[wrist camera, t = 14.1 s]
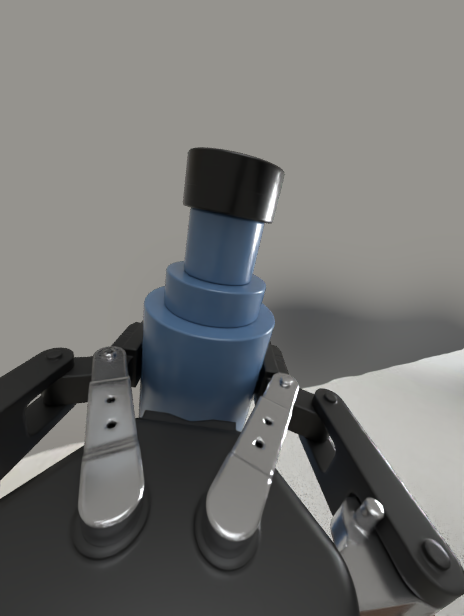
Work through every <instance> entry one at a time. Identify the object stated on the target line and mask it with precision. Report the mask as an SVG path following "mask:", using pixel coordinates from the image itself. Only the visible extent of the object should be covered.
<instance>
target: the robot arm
mask: <svg viewBox="0 0 464 616" xmlns="http://www.w3.org/2000/svg"><path fill="white" fill-rule="evenodd" d="M142 336H143V321H142V322H141V323H138V322H135V323H133V324H131V325H129V326H128V327H127V329H126V330H125V331H124V332H123V333H122V335H120V336H119V338H118V339H117V340H116V341H115V342H114V344H113V345H112V346H111V347H105V348H101V349H99V350H97V351H96V352H95V353H94V355H93V356H91V357H74V354H73V351H71V350H70V349H67V348H53V349H49V350H46V351H43V352H41V353H39V354H38V355H36V356H35V357H33V358H31V359H30V360H28V361H26V362H25V363H23V364H22V365H20V366H18V367H17V368H15V369H13V370H12V371H10V372H9V373H7V374H5V375H4V376H2V377H0V480H1V479H2V478H3V477H4V476H5V475H6V474H7V473H8V472H9V471H10V470H11V469H12V468H13V467H14V466H15V465H16V464H17V463H18V462H19V461H20V460H21V459H22V458H23V457H24V456H25V455H26V454H27V453H28V452H29V451H30V450H31V449H32V448H33V447H34V446H35V445H36V444H37V443H38V442H39V441H40V440H41V439H42V438H43V437H44V436H45V435H46V434H47V433H48V432H49V431H50V430H51V429H52V428H53V427H54V426H55V425H56V424H57V423H58V422H59V421H60V420H61V419H62V418H63V417H64V416H65V415H66V414H67V413H68V412H69V411H70V410H71V409H72V408H73V407H74V406H75V405H76V403H85V402H88V406H87V418H86V431H85V443H84V446H82V447H81V448H79V449H77V450H76V451H74V452H73V453H71V454H70V455H68V456H67V457H65V458H63V459H62V460H60V461H59V462H57V463H56V464H54V465H53V466H51V467H49V468H48V469H46V470H45V471H43V472H42V473H40V474H38V475H37V476H35V477H34V478H32V479H31V480H29V481H28V482H26V483H24V484H23V485H21V486H20V487H18V488H17V489H15V490H13V491H12V492H10V493H9V494H7V495H6V496H4V497H2V498H1V499H0V616H433V615H434V614H436V613H437V612H439V611H440V610H442V609H443V608H444V607H446V606H447V605H449V604H450V603H451V602H453V601H454V600H456V599H457V598H459V597H460V596H461V595H463V594H464V570H463V568H462V566H461V564H460V562H459V560H458V559H457V557H456V556H455V554H454V553H453V551H452V550H451V549H450V547H449V546H448V545H447V543H446V542H445V540H444V539H443V538H442V536H441V535H440V534H439V532H438V531H437V529H436V528H435V527H434V525H433V524H432V523H431V521H430V520H429V518H428V517H427V516H426V514H425V513H424V512H423V510H422V509H421V507H420V506H419V505H418V503H417V502H416V501H415V499H414V498H413V496H412V495H411V494H410V492H409V491H408V490H407V488H406V487H405V485H404V484H403V483H402V481H401V480H400V478H399V477H398V476H397V474H396V473H395V472H394V470H393V469H392V467H391V466H390V465H389V463H388V462H387V461H386V459H385V458H384V456H383V455H382V454H381V452H380V451H379V450H378V448H377V447H376V445H375V444H374V443H373V441H372V440H371V439H370V437H369V436H368V434H367V433H366V432H365V430H364V429H363V428H362V426H361V425H360V423H359V422H358V421H357V419H356V418H355V417H354V415H353V414H352V412H351V411H350V410H349V408H348V407H347V406H346V404H345V403H344V401H343V400H342V399H341V398H340V397H339V396H338V395H337V394H336V393H334V392H332V391H330V390H327V389H318V390H316V392H315V394H312V393H310V392H307V391H305V390H302V389H300V388H299V384H298V382H297V381H296V380H295V379H294V378H293V377H292V376H290V375H289V373H288V370H287V367H286V365H285V362H284V359H283V356H282V353H281V351H280V350H279V349H278V347H277V346H274V345H271V342H269V345H268V348H267V351H266V355H265V358H264V361H263V365H262V368H261V371H260V375H259V378H258V381H257V384H256V388H255V391H254V402H255V407H254V409H253V411H252V413H251V415H250V416H249V418H248V420H247V422H246V424H245V426H244V428H243V430H242V431H241V432H240V431H237V430H236V422H230V421H223V420H215V419H212V420H201V421H188V420H185V419H183V418H180V417H177V416H175V415H172V414H170V413H165V412H158V411H151V410H145V412H144V414H143V416H142V417H140V418H135V414H134V405H133V397H132V389H131V387H136V385H137V384H138V382H139V380H140V378H141V358H142ZM40 393H41V396H40V397H39V398H38V399H36V400H35V401H34V402H33V403H31V404H30V405H29V406H28V404H29V403H30V402H31V401H32V400H33V399H34V398H35V397H37V395H39V394H40ZM27 406H28V407H27ZM287 429H288V430H290V431H292V432H294V433H297V434H298V435H299V438H300V440H301V443H302V445H303V447H304V450H305V452H306V455H307V457H308V459H309V462H310V464H311V466H312V469H313V471H314V473H315V476H316V478H317V480H318V483H319V485H320V487H321V490H322V492H323V494H324V497H325V499H326V501H327V504H328V506H329V508H330V511H331V513H332V515H333V518H332V520H331V524H330V529H331V534H332V538H333V541H334V543H333V542H332V540H331V539H330V538H329V536H328V535H327V534H326V533H325V531H324V530H323V529H322V527H321V526H320V525H319V524H318V522H317V521H316V520H315V518H314V517H313V516H312V515H311V513H310V512H309V511H308V509H307V508H306V507H305V506H304V504H303V503H302V502H301V500H300V499H299V498H298V497H297V495H296V494H295V493H294V491H293V490H292V489H291V487H290V486H289V485H288V484H287V482H286V481H285V480H284V478H283V477H282V476H281V475H280V473H279V472H278V471H277V469H276V468H275V467H276V464H277V461H278V457H279V454H280V451H281V448H282V444H283V441H284V438H285V435H286V431H287ZM329 436H330V437H331V439H332V440H333V442H334V444H333V443H332V441H331V439H330V437H329ZM334 445H335V446H334Z"/></svg>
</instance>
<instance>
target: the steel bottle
mask: <svg viewBox="0 0 464 616" xmlns="http://www.w3.org/2000/svg"><path fill="white" fill-rule="evenodd" d="M284 175H285V174H284V171H283V170H282V169H281V168H280V167H278V166H276V165H274V164H272V163H270V162H268V161H265V160H263V159H260V158H257V157H254V156H250V155H246V154H243V153H238V152H234V151H229V150H223V149H216V148H204V147H200V148H193V149H190V150H189V152H188V157H187V168H186V177H185V187H184V197H183V198H184V199H183V204H184V205H185V206H188V207H191V209H190V216H189V225H188V235H187V243H186V252H185V261H180V262H175V263H172V264H170V265H169V266H168V267H167V269H166V281H165V286H163V287H160V288H157V289H155V290H153V291H152V292H150V293H149V294H148V295H147V297H146V298H145V301H144V314H143V315H144V316H143V336H142V358H141V382H140V402H139V418H140V417H142V416H143V414H144V412H145V410H151V411H158V412H165V413H170V414H172V415H175V416H177V417H180V418H183V419H185V420H188V421H201V420H212V419H215V420H223V421H230V422H236V430H237V431H240V432H241V431H242V430H243V427H244V424H245V421H246V418H247V414H248V411H249V408H250V404H251V401H252V397H253V394H254V391H255V388H256V384H257V381H258V378H259V375H260V371H261V368H262V365H263V361H264V358H265V355H266V351H267V348H268V345H269V342H270V338H271V335H272V332H273V328H274V325H275V320H274V316H273V314H272V312H271V311H270V310H269V309H268V308H267V307H266V306H265V305H264V304H262V301H263V297H264V293H265V290H266V284H265V282H264V281H263V280H261V279H260V278H259V277H257V276H256V275H254V274H253V271H254V266H255V262H256V258H257V254H258V249H259V245H260V241H261V237H262V232H263V228H264V223H272V222H273V219H274V215H275V211H276V207H277V203H278V199H279V195H280V191H281V187H282V183H283V179H284Z"/></svg>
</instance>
